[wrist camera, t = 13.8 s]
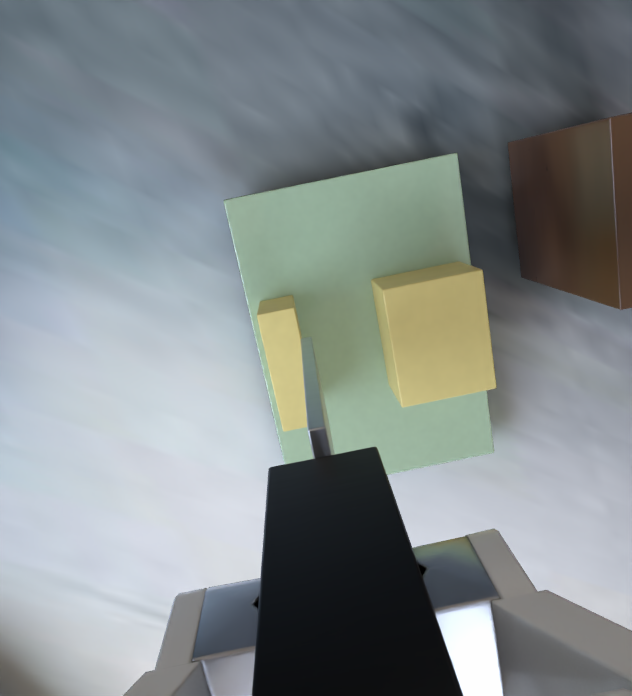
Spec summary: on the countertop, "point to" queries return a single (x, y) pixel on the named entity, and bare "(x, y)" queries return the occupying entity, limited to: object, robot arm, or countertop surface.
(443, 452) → the butter dish
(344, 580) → the knife
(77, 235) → the countertop surface
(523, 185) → the knife block
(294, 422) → the butter slice
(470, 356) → the butter block
